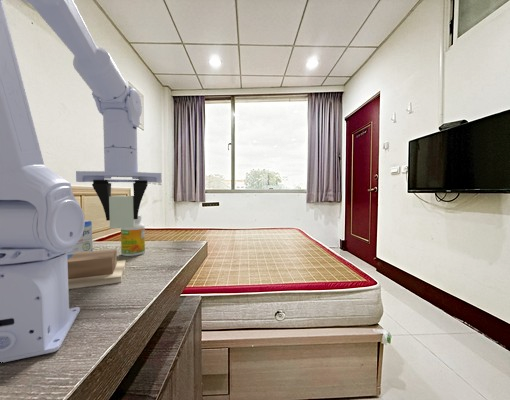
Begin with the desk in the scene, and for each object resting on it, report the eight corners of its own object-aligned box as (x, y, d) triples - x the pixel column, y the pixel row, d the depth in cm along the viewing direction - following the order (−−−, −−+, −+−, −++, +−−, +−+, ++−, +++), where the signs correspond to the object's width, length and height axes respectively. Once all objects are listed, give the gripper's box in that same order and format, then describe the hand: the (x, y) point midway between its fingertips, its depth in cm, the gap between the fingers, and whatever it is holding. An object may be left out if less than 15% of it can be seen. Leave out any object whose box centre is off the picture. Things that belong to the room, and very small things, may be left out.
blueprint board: (121, 282, 44) (120, 259, 44) (50, 291, 40) (49, 266, 40) (126, 264, 54) (125, 246, 54) (69, 270, 50) (69, 250, 50)
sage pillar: (133, 227, 49) (132, 196, 48) (109, 228, 47) (109, 196, 47) (134, 224, 52) (134, 195, 52) (112, 225, 51) (112, 196, 50)
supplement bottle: (117, 256, 60) (116, 216, 60) (126, 251, 66) (125, 214, 65) (140, 256, 61) (139, 216, 61) (148, 250, 66) (147, 214, 66)
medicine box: (62, 265, 54) (61, 225, 54) (46, 264, 55) (44, 224, 54) (93, 255, 62) (92, 220, 61) (78, 254, 63) (76, 220, 62)
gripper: (160, 154, 55) (161, 215, 56) (81, 150, 50) (83, 218, 50) (161, 149, 49) (162, 219, 50) (71, 144, 43) (74, 223, 44)
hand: (122, 219), depth 50 cm, fingers closed on sage pillar, 4 cm apart
